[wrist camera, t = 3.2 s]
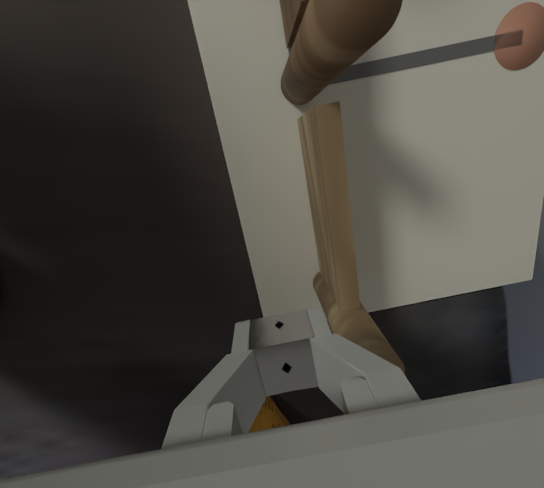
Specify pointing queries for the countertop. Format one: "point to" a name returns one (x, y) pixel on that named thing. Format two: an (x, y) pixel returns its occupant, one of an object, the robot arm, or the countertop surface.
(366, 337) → the fence gate
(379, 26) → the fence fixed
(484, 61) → the card
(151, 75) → the countertop surface
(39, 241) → the countertop surface
